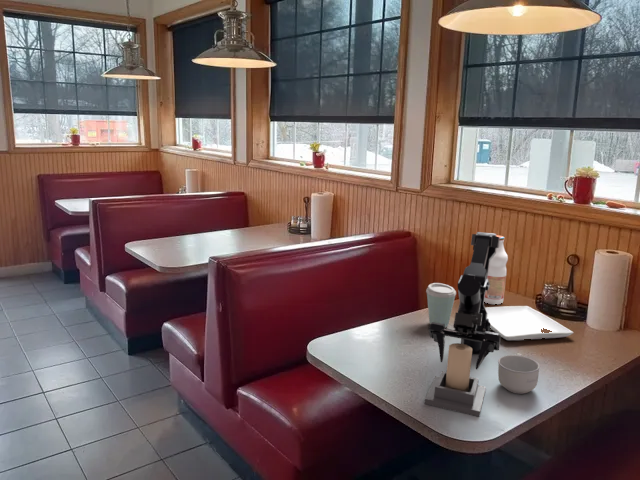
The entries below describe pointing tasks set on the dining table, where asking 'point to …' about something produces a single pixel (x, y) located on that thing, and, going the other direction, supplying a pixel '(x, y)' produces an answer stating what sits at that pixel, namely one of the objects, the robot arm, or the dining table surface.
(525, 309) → the square plate
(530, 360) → the teacup
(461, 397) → the roll caddy
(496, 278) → the fruit juice
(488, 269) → the robot arm
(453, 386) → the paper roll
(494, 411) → the dining table surface
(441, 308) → the disposable coffee cup
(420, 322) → the dining table surface
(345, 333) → the dining table surface
